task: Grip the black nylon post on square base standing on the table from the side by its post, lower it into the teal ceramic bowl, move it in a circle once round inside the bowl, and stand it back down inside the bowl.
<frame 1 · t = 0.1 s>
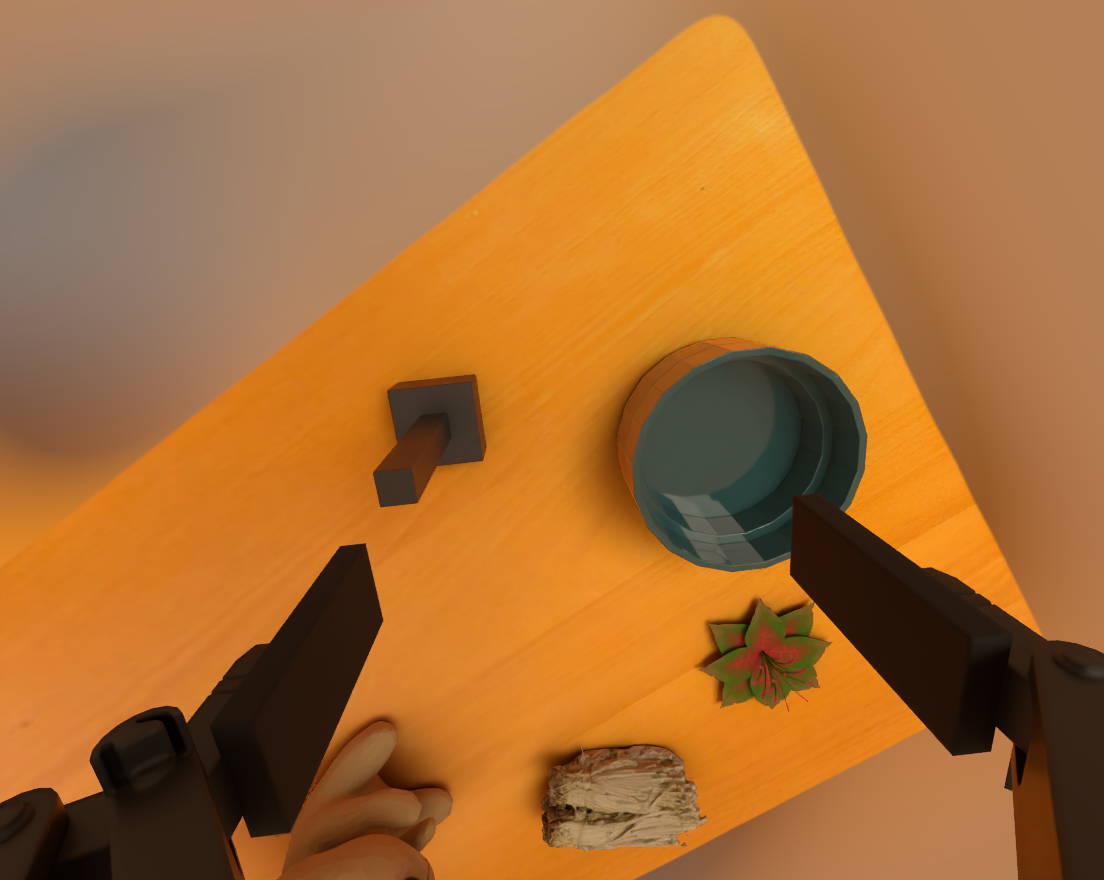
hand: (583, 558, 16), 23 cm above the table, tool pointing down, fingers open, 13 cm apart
post on square base: (443, 416, 37), on the table
lily flower: (761, 649, 45), on the table
toy: (372, 776, 47), on the table
bowl: (714, 437, 39), on the table
weathered wood chunk: (612, 773, 48), on the table
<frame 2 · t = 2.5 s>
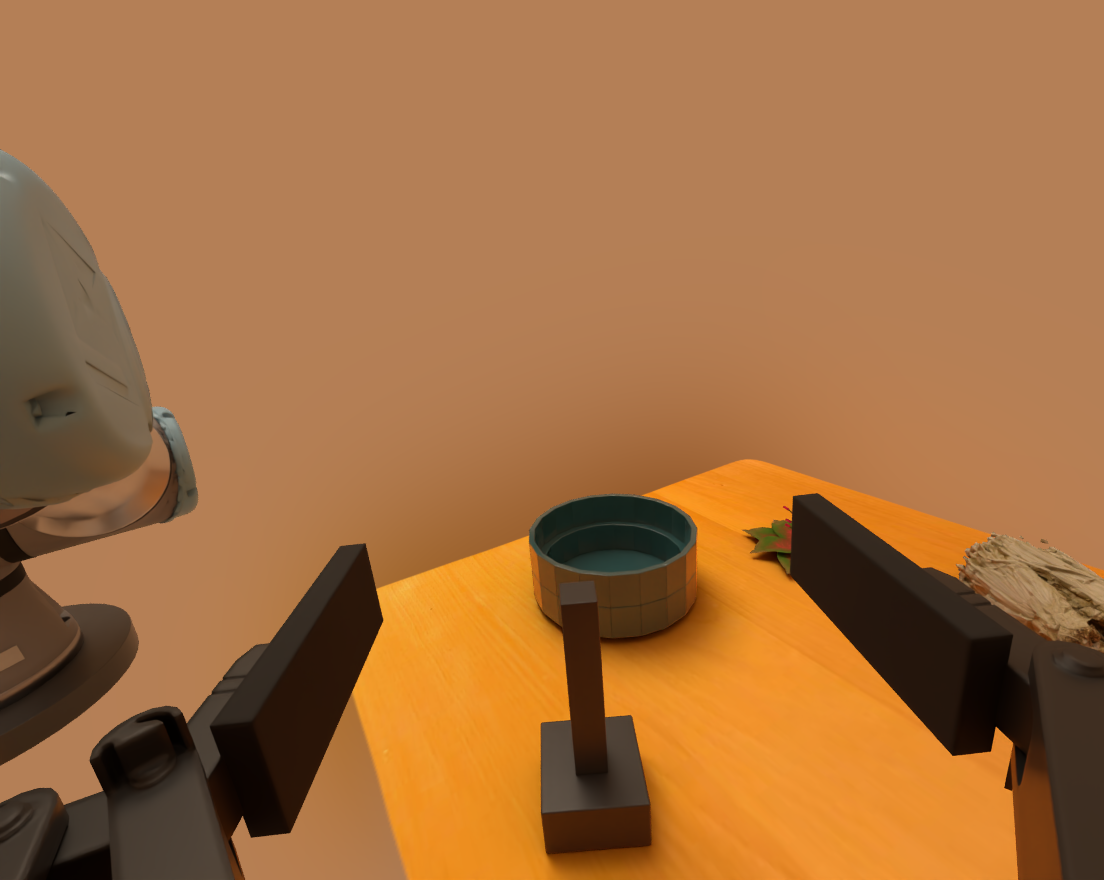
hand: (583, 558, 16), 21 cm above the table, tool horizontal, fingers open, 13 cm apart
post on square base: (593, 798, 30), on the table
lily flower: (803, 551, 52), on the table
bowl: (614, 589, 49), on the table
weathered wood chunk: (1050, 633, 39), on the table
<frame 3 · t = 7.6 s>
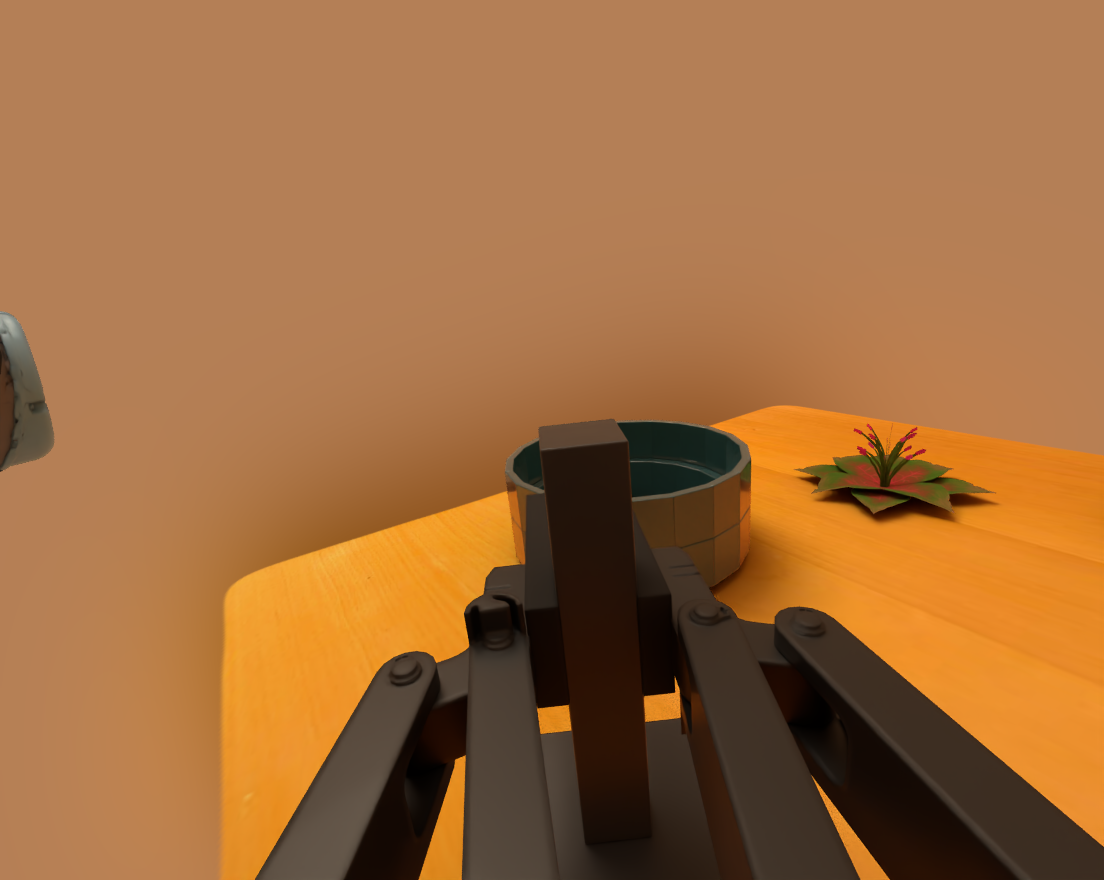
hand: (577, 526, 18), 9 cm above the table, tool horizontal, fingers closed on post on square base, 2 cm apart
lily flower: (883, 490, 38), on the table
bowl: (629, 543, 34), on the table
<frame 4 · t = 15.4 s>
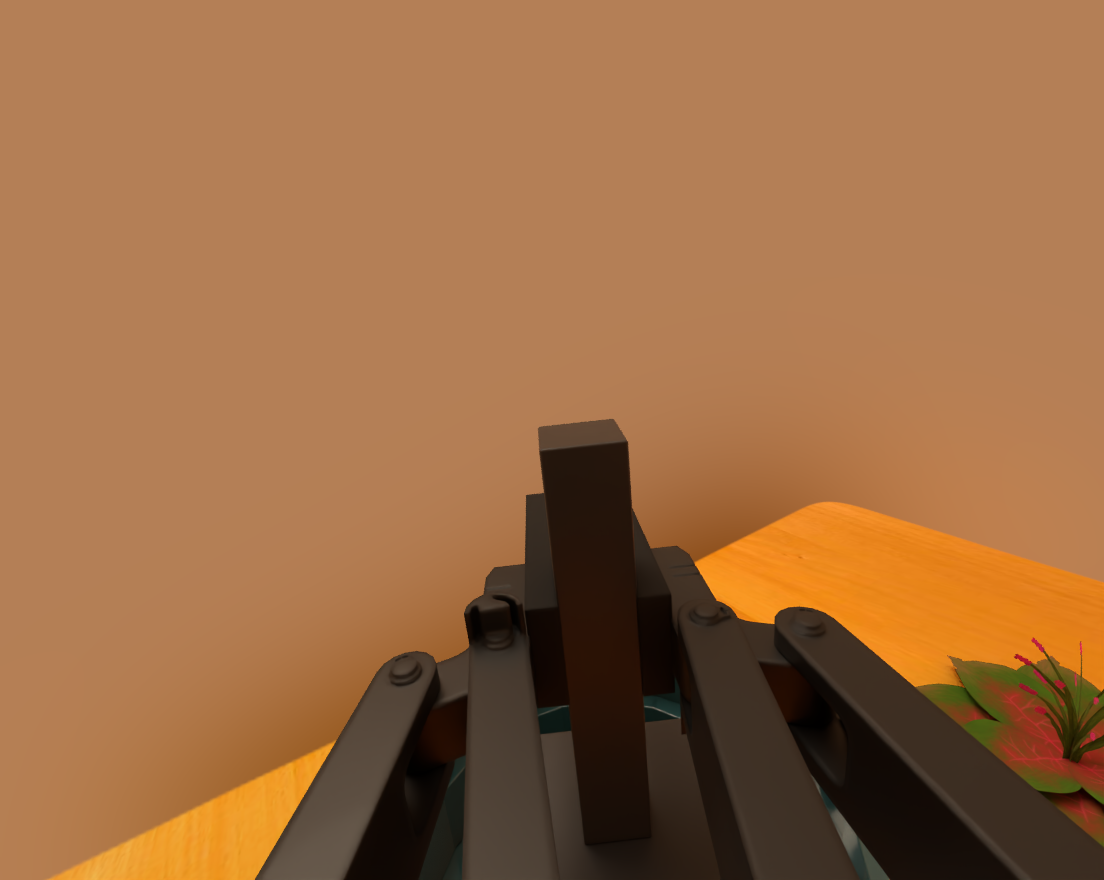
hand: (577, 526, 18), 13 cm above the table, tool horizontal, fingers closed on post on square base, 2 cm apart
lily flower: (1067, 763, 22), on the table
when the fingers open (10 cm above the table, at t = 17.1 s): post on square base stays where it is, resting on bowl.
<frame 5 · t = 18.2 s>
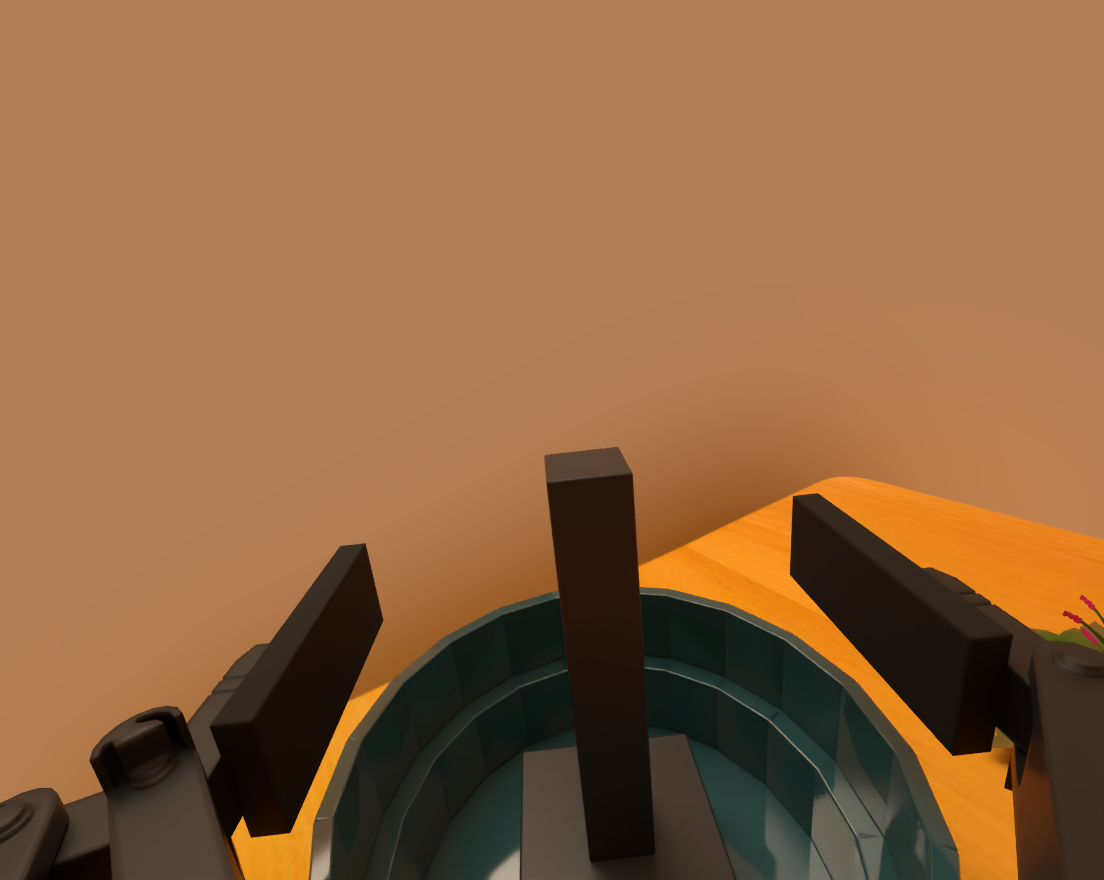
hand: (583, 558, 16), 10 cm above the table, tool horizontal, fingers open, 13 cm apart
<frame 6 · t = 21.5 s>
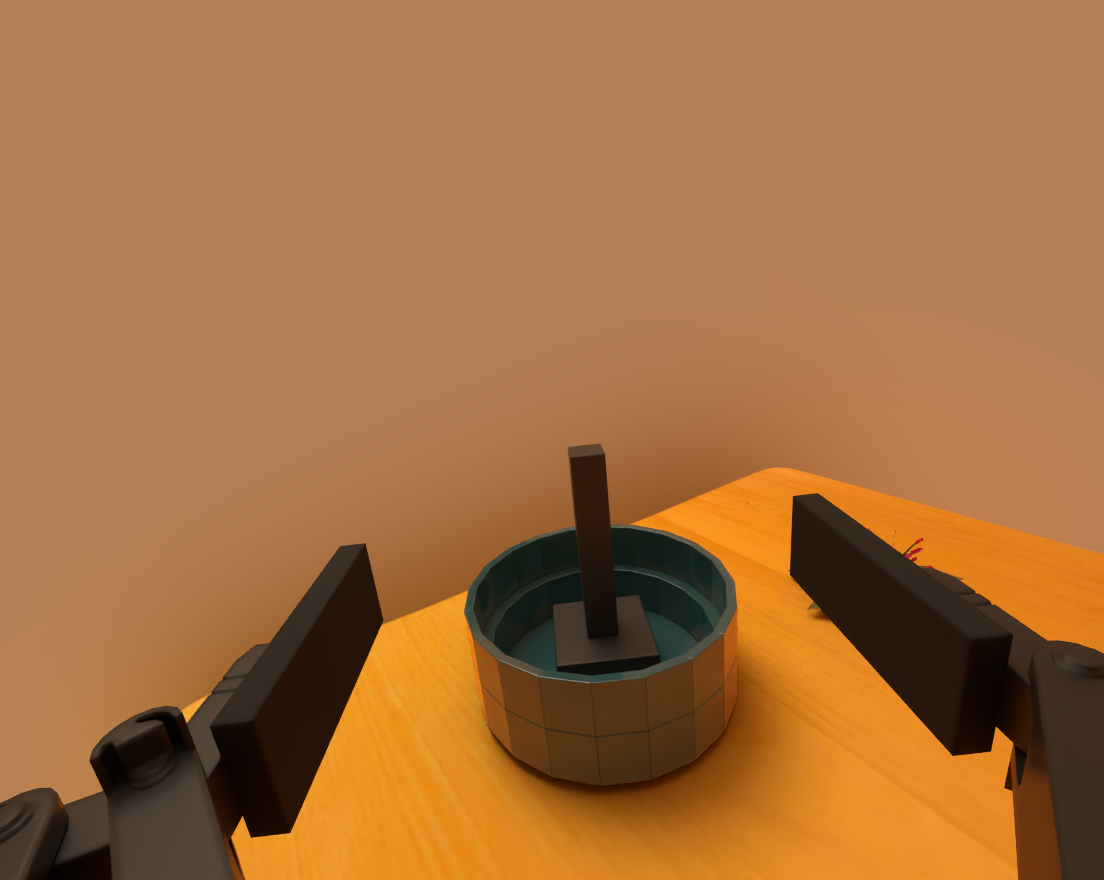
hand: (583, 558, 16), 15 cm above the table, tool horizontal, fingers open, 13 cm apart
post on square base: (605, 669, 31), point 1 cm above the table, touching bowl
bowl: (605, 676, 31), on the table
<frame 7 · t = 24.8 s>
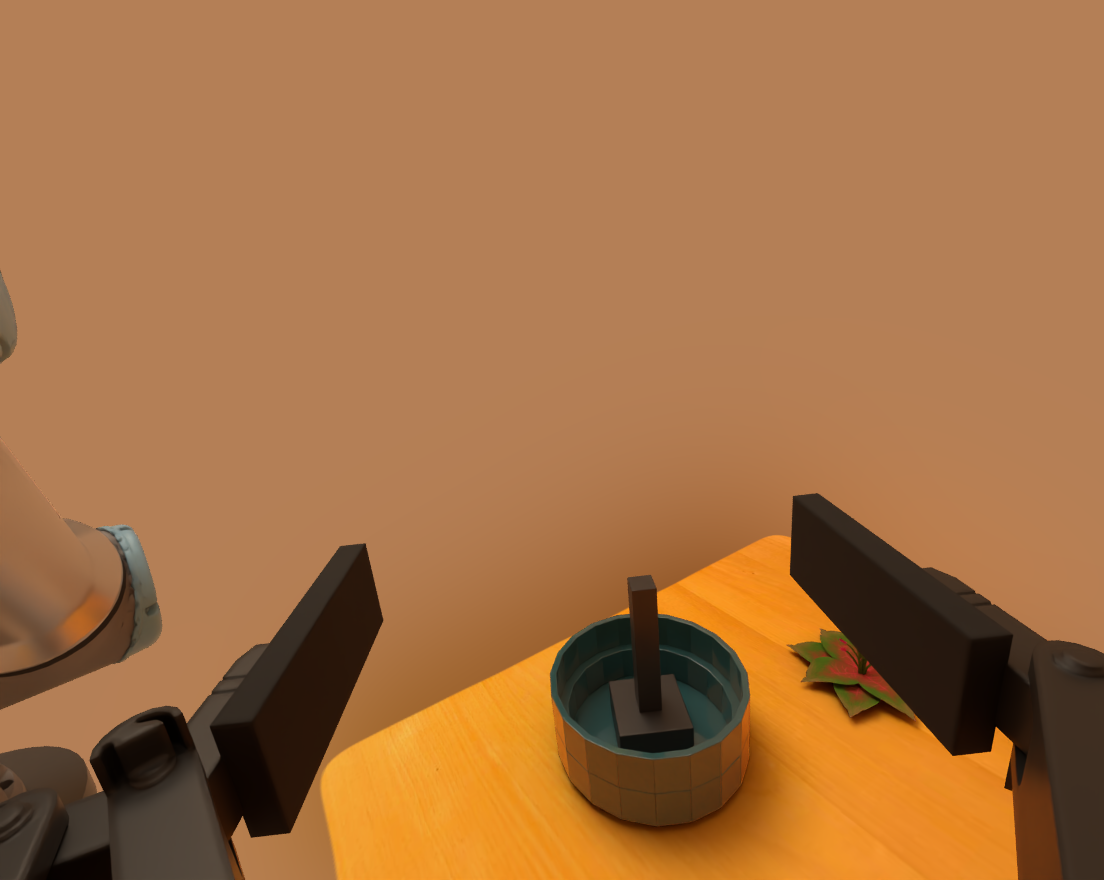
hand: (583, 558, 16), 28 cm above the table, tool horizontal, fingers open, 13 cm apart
post on square base: (650, 732, 42), point 1 cm above the table, touching bowl
lily flower: (861, 676, 46), on the table
bowl: (649, 737, 42), on the table
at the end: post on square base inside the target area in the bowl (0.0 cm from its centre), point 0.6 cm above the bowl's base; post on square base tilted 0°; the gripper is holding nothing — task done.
